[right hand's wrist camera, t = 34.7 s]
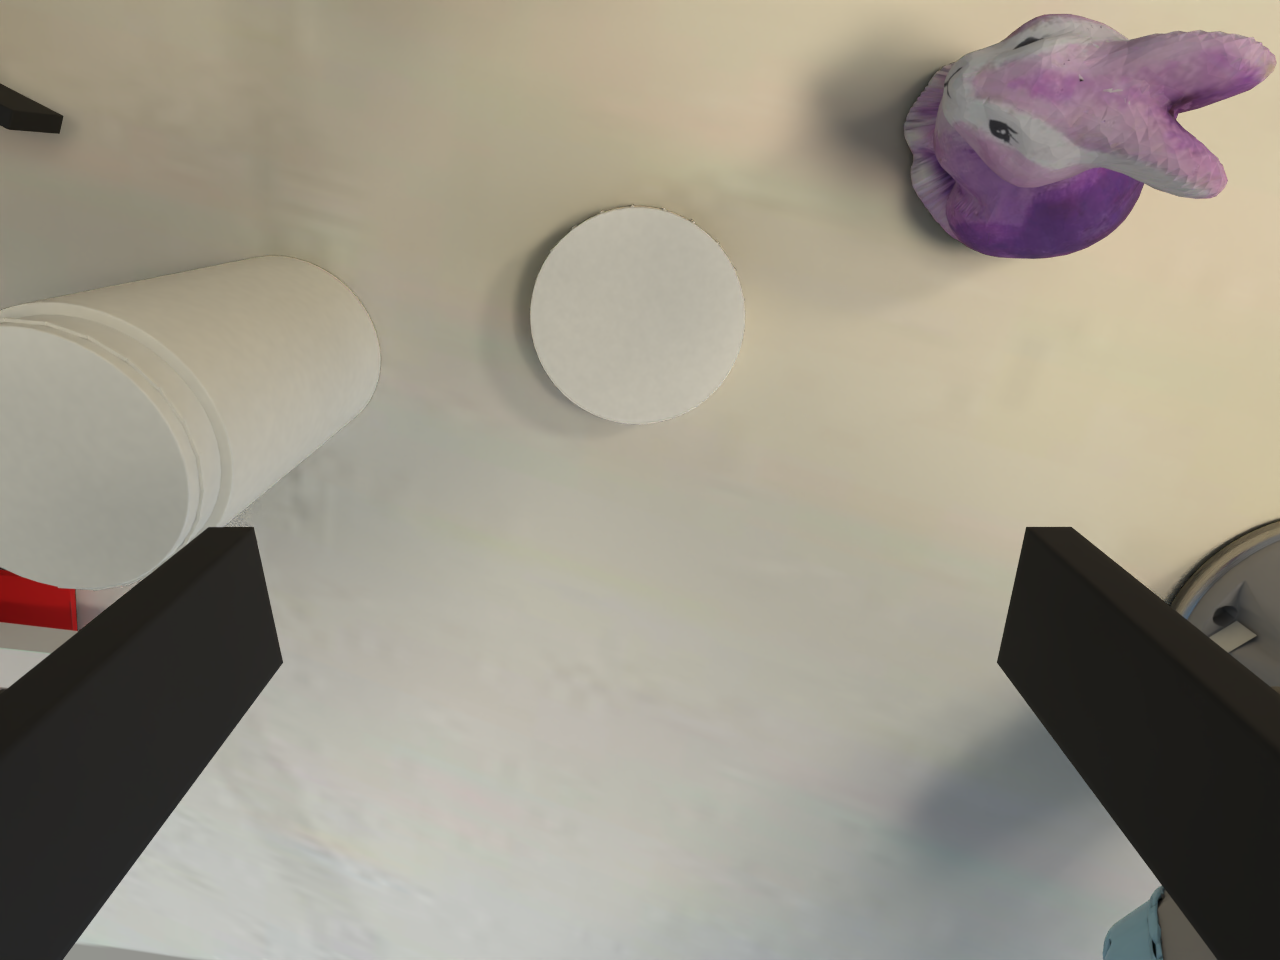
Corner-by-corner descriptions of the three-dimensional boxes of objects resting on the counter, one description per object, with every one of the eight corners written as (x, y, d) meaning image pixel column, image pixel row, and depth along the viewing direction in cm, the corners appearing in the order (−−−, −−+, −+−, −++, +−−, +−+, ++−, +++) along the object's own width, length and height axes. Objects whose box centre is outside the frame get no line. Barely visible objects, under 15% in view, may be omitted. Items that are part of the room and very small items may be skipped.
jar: (160, 304, 39) (-189, 395, 22) (314, 222, 37) (59, 255, 21) (269, 460, 42) (33, 639, 26) (414, 391, 41) (262, 533, 24)
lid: (615, 449, 42) (614, 463, 40) (492, 288, 39) (484, 294, 36) (779, 339, 40) (787, 348, 37) (663, 157, 36) (664, 156, 34)
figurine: (866, 74, 35) (1018, 3, 21) (1090, 23, 34) (1403, -87, 20) (883, 277, 38) (1023, 333, 24) (1087, 235, 37) (1351, 267, 23)
